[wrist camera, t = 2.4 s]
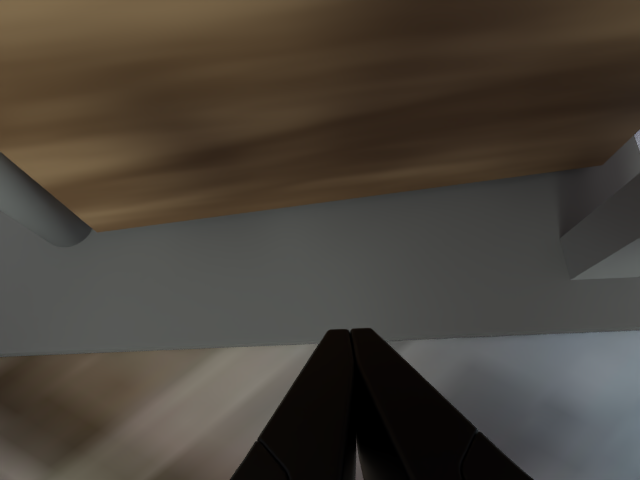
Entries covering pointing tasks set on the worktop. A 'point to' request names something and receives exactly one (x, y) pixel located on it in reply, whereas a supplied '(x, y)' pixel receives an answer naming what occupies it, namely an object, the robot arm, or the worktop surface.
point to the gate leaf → (305, 98)
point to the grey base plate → (328, 267)
